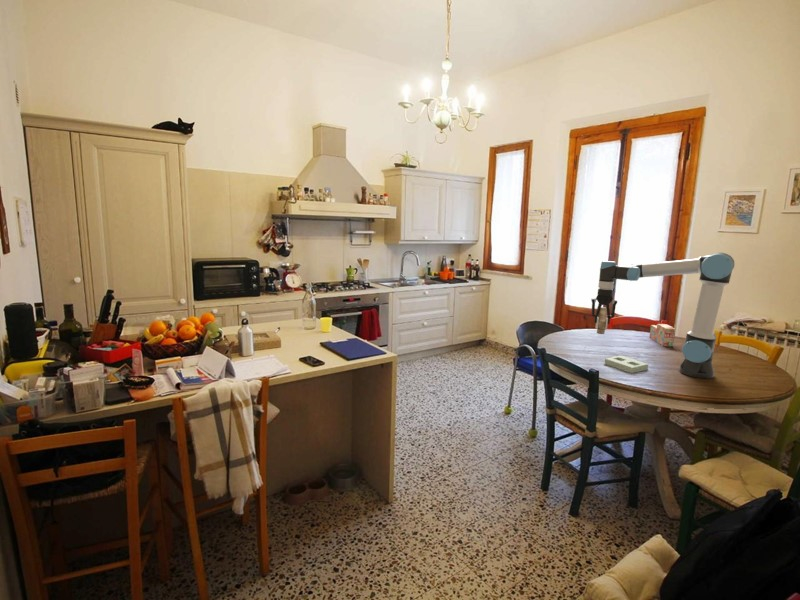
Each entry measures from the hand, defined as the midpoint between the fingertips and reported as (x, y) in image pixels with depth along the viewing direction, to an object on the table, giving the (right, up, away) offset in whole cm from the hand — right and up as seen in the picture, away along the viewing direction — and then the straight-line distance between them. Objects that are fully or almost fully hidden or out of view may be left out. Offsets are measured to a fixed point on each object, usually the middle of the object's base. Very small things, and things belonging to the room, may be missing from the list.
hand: (601, 328), depth 237 cm
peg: (0, -3, +1) cm, 3 cm away
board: (+10, -20, -8) cm, 24 cm away
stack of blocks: (+62, -12, +44) cm, 77 cm away
